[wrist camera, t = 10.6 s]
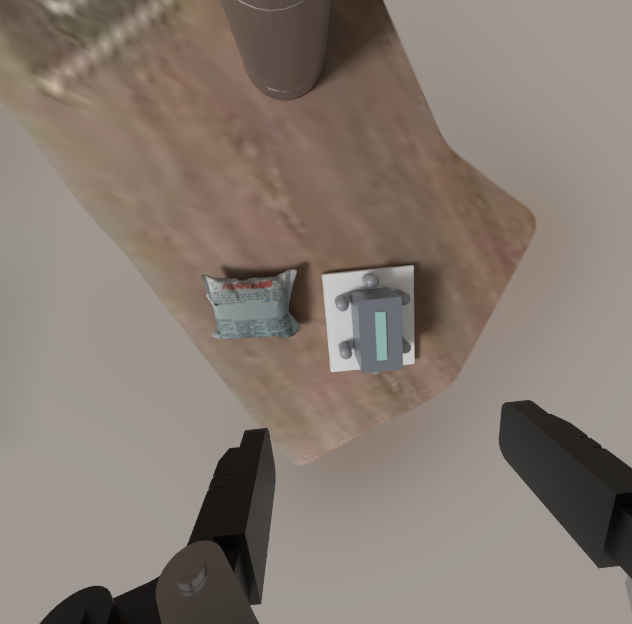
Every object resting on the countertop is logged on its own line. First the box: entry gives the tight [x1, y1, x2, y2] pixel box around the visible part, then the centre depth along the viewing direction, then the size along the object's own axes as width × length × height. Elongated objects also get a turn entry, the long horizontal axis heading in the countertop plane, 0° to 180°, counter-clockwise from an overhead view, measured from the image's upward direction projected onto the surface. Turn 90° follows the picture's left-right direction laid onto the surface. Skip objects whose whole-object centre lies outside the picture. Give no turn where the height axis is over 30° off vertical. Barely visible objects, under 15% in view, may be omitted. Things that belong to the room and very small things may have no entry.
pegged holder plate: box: [322, 265, 414, 374], centre depth 39 cm, size 14×12×4 cm
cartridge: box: [350, 287, 403, 373], centre depth 37 cm, size 9×5×6 cm, turn 6°
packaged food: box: [201, 269, 300, 339], centre depth 38 cm, size 9×12×5 cm
